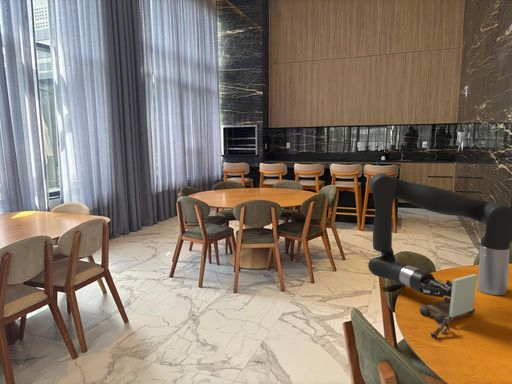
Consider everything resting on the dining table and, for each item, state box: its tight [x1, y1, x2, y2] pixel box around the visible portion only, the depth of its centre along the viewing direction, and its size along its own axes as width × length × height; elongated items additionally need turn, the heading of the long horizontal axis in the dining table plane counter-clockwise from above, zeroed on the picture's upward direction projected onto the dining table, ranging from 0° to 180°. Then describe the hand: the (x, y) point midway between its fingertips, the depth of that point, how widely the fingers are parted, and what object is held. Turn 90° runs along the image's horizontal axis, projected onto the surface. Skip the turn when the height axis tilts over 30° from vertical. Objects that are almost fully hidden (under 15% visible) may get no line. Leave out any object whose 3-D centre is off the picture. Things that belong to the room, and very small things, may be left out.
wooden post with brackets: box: [430, 318, 451, 340], centre depth 113 cm, size 2×8×4 cm, turn 123°
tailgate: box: [449, 273, 478, 317], centre depth 119 cm, size 10×1×12 cm, turn 117°
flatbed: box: [419, 296, 476, 325], centre depth 124 cm, size 14×10×3 cm
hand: (461, 297), depth 119 cm, fingers closed
